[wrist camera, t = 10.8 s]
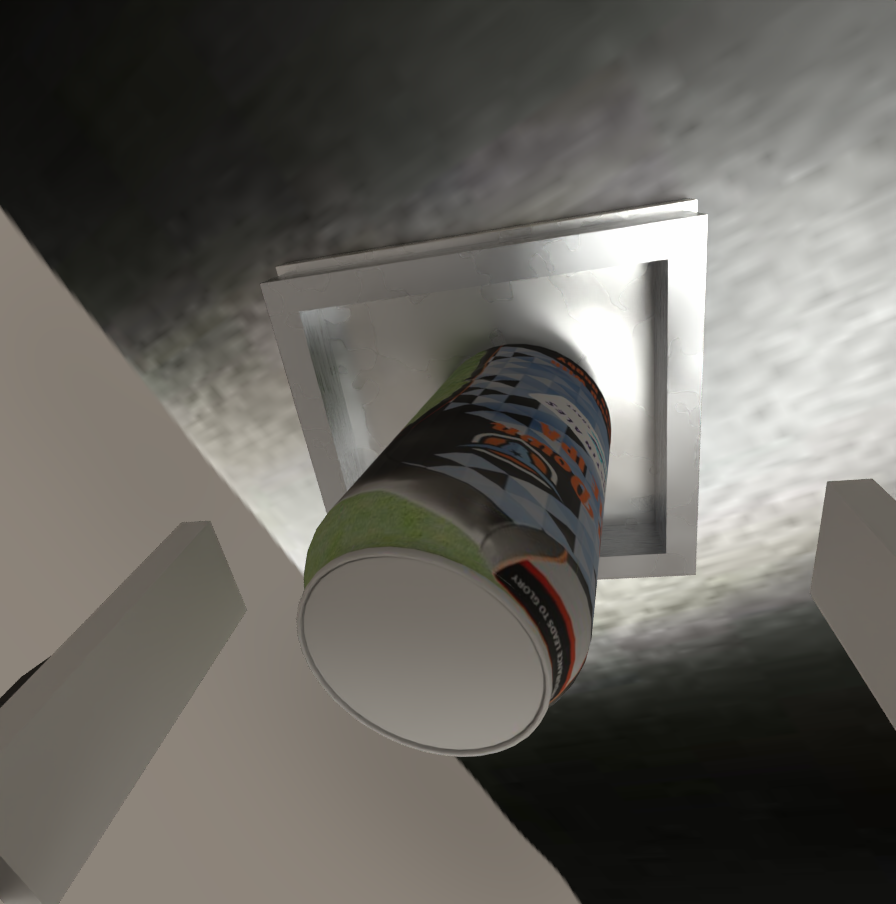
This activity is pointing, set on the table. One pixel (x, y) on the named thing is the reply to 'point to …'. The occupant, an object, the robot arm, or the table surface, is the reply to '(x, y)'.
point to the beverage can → (466, 559)
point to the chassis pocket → (517, 322)
